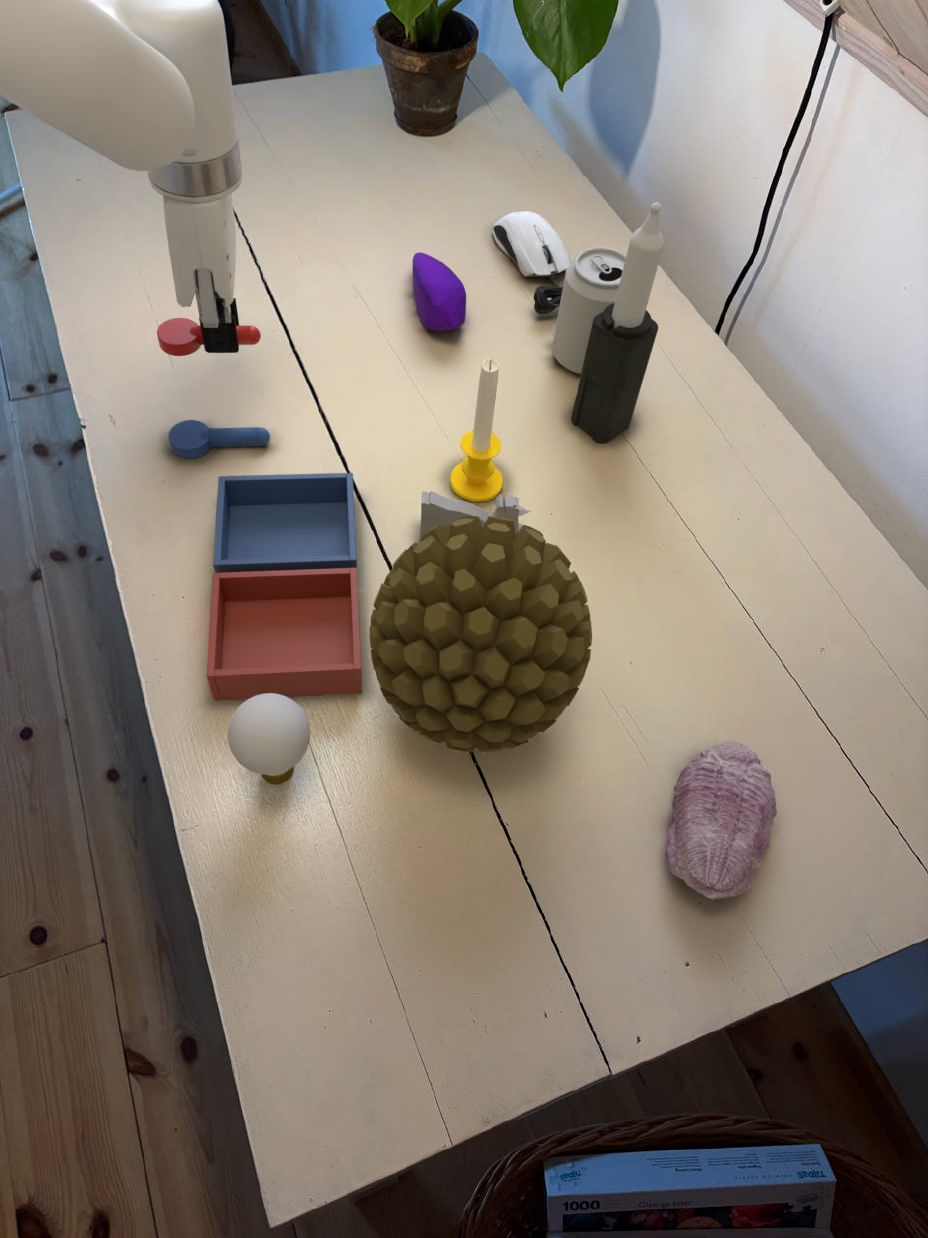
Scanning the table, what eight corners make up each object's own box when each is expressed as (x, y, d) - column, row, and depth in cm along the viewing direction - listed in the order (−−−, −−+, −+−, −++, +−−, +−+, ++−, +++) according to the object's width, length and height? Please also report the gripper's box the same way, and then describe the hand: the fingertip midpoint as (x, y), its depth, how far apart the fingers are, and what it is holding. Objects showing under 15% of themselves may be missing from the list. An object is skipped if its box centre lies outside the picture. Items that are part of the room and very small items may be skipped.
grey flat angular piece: (420, 530, 90) (525, 535, 90) (420, 542, 89) (526, 546, 89) (421, 490, 85) (532, 495, 85) (421, 502, 84) (533, 507, 84)
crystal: (436, 232, 109) (477, 302, 100) (436, 271, 113) (475, 342, 104) (396, 237, 108) (434, 309, 99) (397, 276, 112) (433, 348, 103)
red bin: (213, 700, 78) (206, 676, 75) (219, 599, 83) (212, 572, 80) (362, 693, 79) (361, 668, 76) (358, 593, 85) (356, 567, 82)
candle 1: (501, 505, 92) (520, 383, 79) (448, 500, 92) (458, 377, 79) (503, 465, 95) (522, 341, 82) (451, 460, 95) (462, 336, 82)
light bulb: (326, 752, 76) (319, 691, 68) (299, 818, 73) (288, 763, 65) (258, 731, 77) (243, 668, 68) (227, 795, 73) (208, 738, 65)
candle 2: (566, 418, 99) (614, 199, 78) (599, 397, 101) (654, 178, 80) (601, 446, 97) (660, 228, 76) (634, 424, 99) (699, 206, 79)
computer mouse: (537, 215, 119) (541, 185, 116) (612, 302, 110) (619, 273, 107) (466, 232, 116) (469, 202, 113) (538, 323, 107) (543, 293, 104)
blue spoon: (271, 428, 95) (269, 415, 94) (270, 457, 93) (268, 444, 92) (172, 430, 94) (169, 417, 93) (169, 459, 92) (166, 446, 91)
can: (583, 390, 102) (604, 296, 92) (536, 351, 105) (553, 257, 95) (631, 362, 105) (657, 269, 95) (585, 326, 108) (605, 232, 98)
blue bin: (219, 592, 84) (213, 565, 81) (224, 504, 90) (218, 475, 86) (357, 586, 85) (356, 559, 82) (353, 500, 91) (352, 472, 88)
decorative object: (394, 599, 85) (396, 441, 68) (579, 633, 84) (627, 482, 68) (349, 767, 75) (340, 632, 59) (557, 807, 75) (607, 682, 58)
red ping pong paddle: (262, 329, 93) (260, 314, 92) (261, 356, 91) (259, 341, 90) (161, 329, 92) (157, 313, 91) (157, 356, 90) (154, 341, 88)
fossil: (641, 890, 72) (657, 866, 67) (685, 736, 79) (701, 706, 75) (746, 931, 70) (769, 909, 66) (780, 771, 78) (802, 742, 74)
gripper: (154, 107, 81) (188, 290, 96) (136, 216, 72) (177, 399, 87) (243, 110, 81) (263, 291, 97) (237, 217, 73) (260, 398, 88)
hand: (222, 341), depth 92 cm, fingers closed on red ping pong paddle, 1 cm apart
